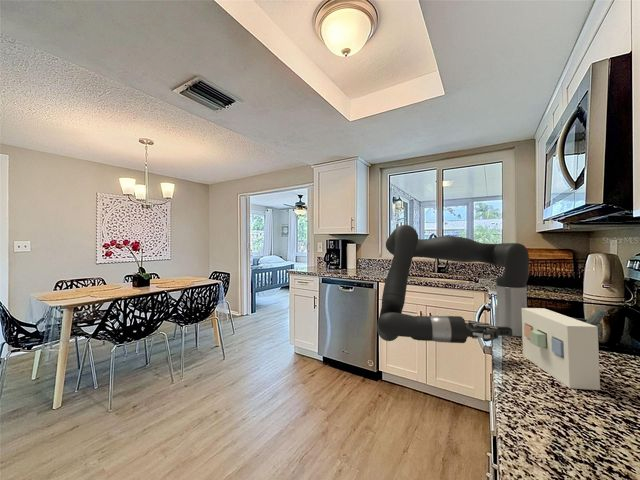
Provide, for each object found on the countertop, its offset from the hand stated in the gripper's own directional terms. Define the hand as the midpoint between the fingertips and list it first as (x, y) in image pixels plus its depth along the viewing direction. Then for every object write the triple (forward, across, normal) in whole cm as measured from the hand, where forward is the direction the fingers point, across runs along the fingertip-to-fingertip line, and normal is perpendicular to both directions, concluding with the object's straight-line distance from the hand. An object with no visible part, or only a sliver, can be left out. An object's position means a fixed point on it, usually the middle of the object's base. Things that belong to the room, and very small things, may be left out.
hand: (510, 331), depth 79 cm
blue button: (+5, -12, +2) cm, 13 cm away
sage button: (+4, -6, +2) cm, 7 cm away
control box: (+8, -6, +8) cm, 13 cm away
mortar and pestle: (+31, +18, +8) cm, 37 cm away
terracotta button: (+5, 0, +2) cm, 6 cm away
